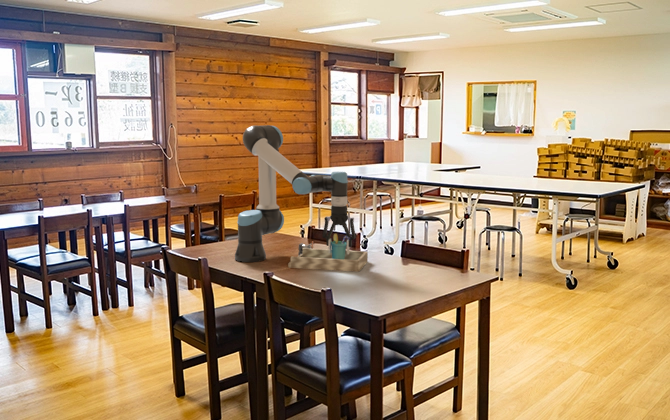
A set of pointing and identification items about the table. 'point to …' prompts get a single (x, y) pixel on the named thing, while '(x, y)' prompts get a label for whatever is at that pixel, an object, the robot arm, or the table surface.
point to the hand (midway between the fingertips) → (339, 253)
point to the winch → (304, 247)
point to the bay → (329, 260)
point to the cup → (338, 247)
